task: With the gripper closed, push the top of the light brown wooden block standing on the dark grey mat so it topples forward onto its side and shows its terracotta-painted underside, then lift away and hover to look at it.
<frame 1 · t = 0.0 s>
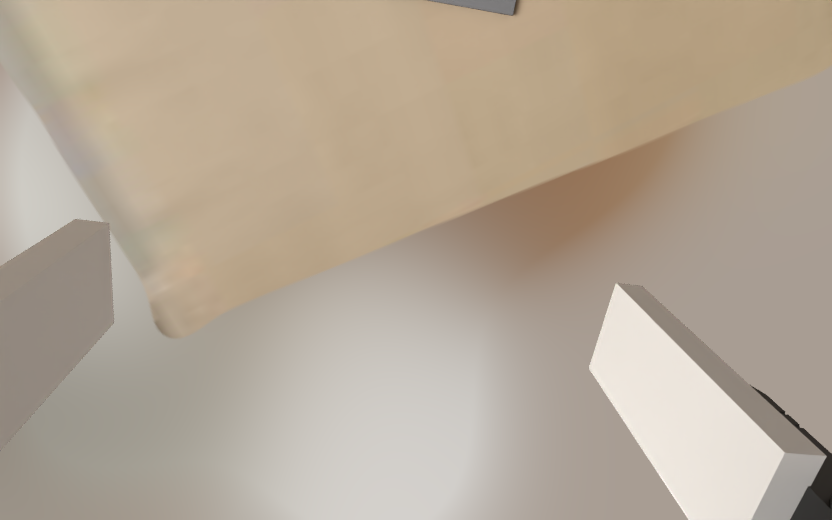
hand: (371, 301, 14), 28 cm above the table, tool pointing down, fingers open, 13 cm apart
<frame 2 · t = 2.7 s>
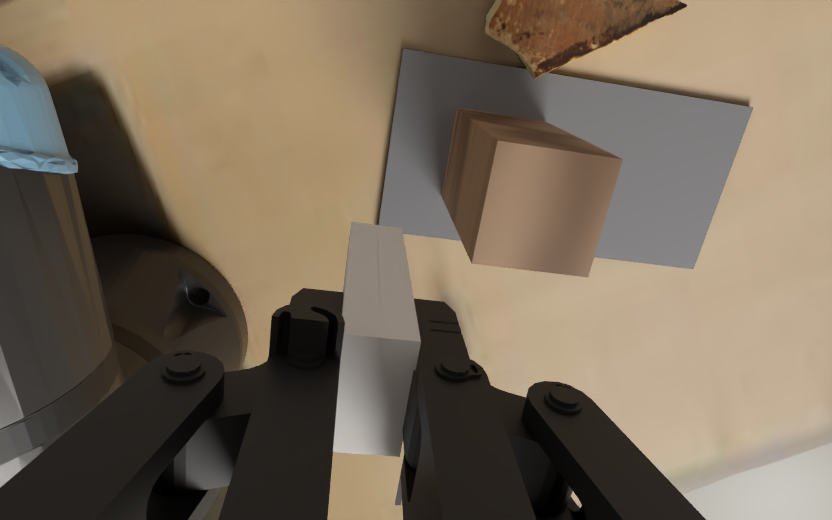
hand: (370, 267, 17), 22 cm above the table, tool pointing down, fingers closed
grey mat: (560, 168, 38), on the table
light brown wooden block: (492, 159, 37), resting on grey mat
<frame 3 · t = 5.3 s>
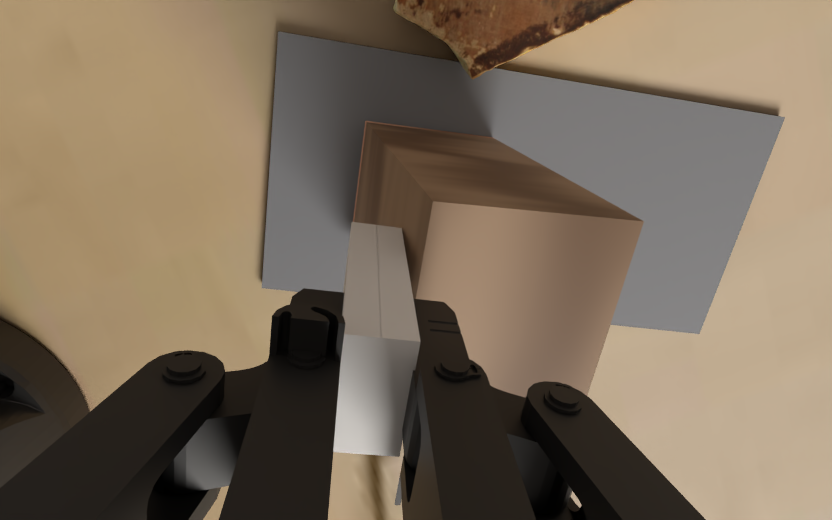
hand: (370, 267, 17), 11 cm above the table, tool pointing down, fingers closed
grey mat: (516, 201, 27), on the table
light brown wooden block: (420, 193, 26), point 1 cm above the table, tilted 8°, touching grey mat, gripper
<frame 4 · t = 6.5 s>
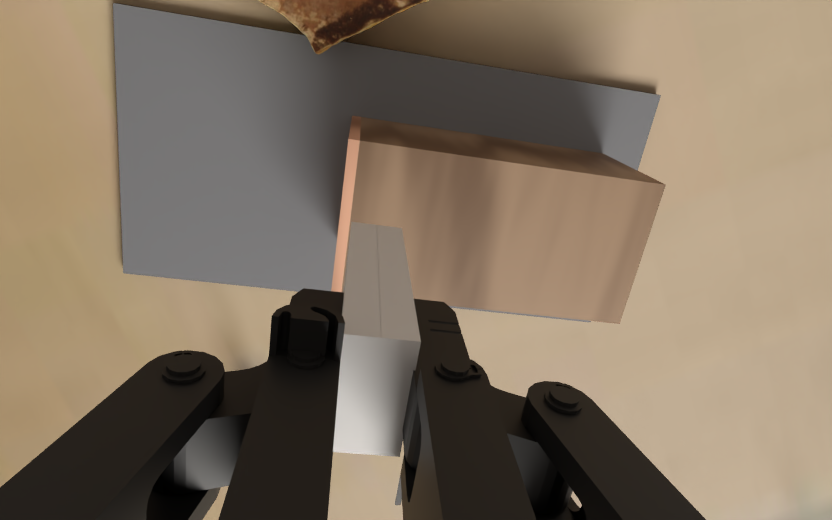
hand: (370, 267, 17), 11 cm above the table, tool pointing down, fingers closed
grey mat: (386, 183, 26), on the table
light brown wooden block: (342, 197, 23), point 3 cm above the table, tilted 90°, touching grey mat
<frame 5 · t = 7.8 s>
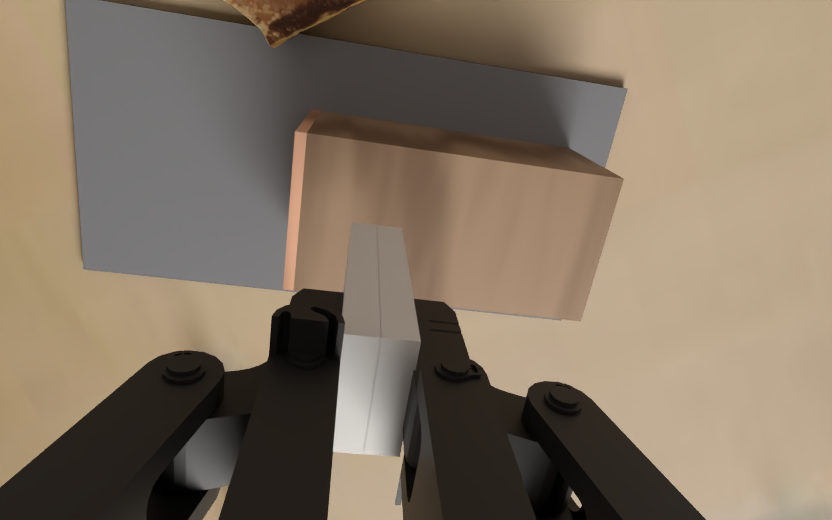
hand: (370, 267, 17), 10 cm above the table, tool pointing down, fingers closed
grey mat: (349, 179, 26), on the table
light brown wooden block: (298, 192, 23), point 3 cm above the table, tilted 90°, touching grey mat
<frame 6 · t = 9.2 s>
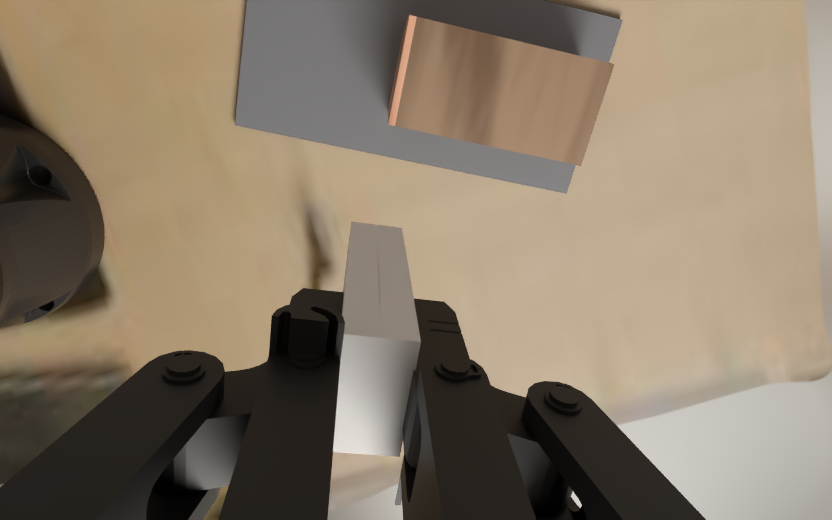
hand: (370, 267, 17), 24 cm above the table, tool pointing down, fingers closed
grey mat: (425, 73, 37), on the table
light brown wooden block: (397, 69, 34), point 3 cm above the table, tilted 90°, touching grey mat
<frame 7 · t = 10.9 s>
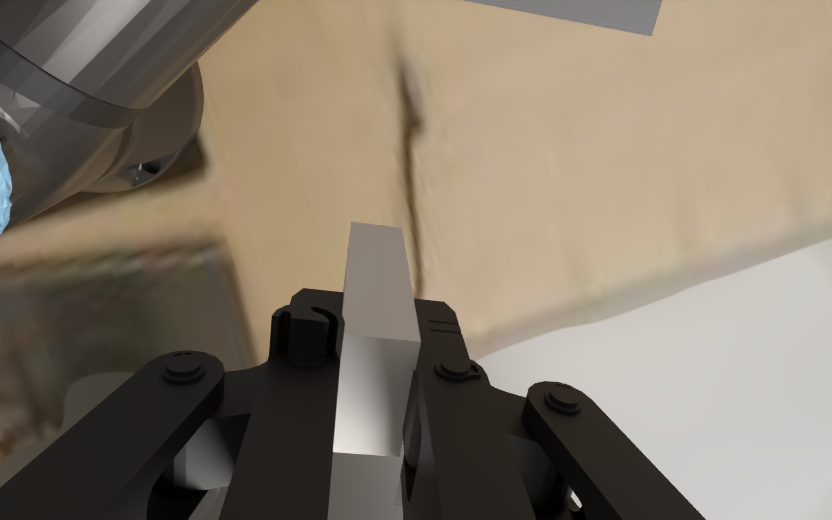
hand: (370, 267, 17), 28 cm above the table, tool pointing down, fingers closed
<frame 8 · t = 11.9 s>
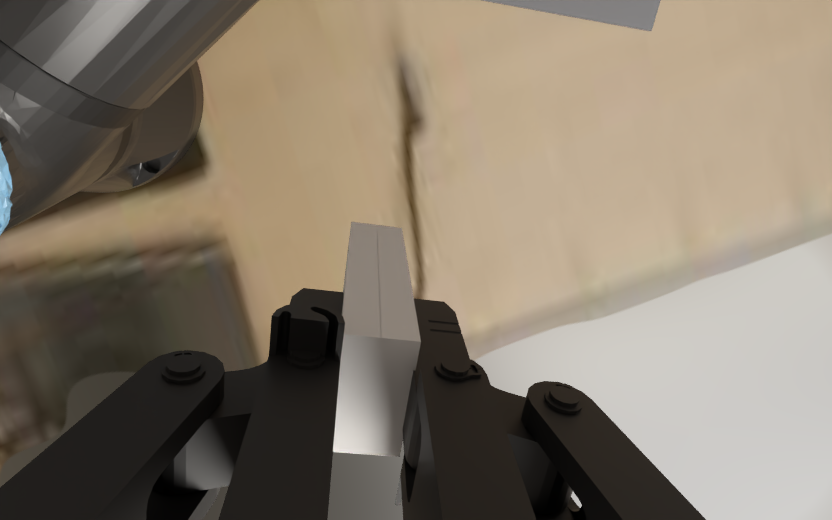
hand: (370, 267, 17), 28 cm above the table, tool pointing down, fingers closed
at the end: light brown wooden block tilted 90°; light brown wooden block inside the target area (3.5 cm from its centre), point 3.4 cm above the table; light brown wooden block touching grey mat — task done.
